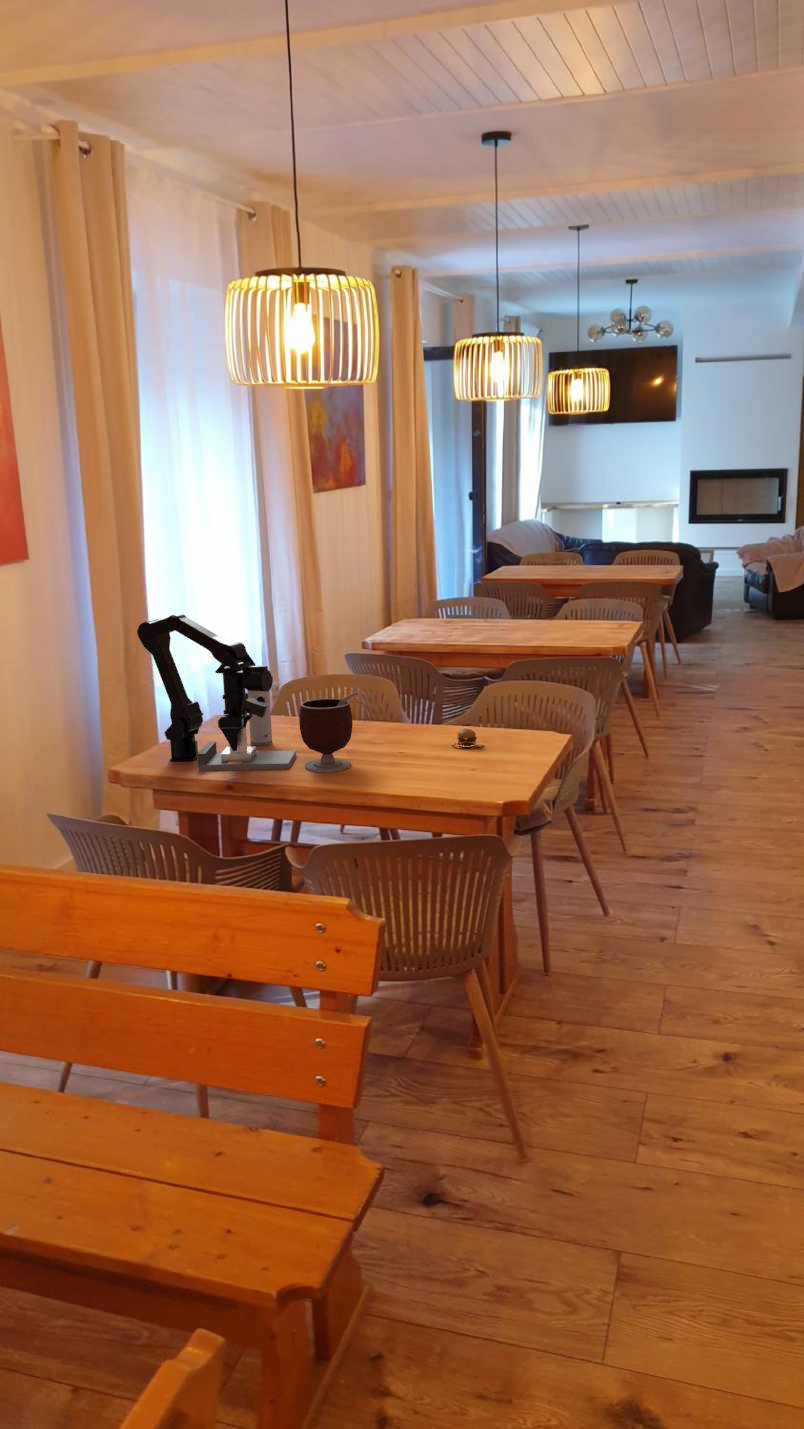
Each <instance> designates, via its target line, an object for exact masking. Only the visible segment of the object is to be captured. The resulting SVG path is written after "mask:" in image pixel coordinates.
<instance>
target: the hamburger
mask: <svg viewBox="0 0 804 1429" xmlns="http://www.w3.org/2000/svg"><path fill="white" fill-rule="evenodd" d="M476 735H477V734H476V732H475V731H474V730H472V729H470V728H464V729H461V730H459V732H458V733H457V742H458V744H457V745H462V746H463V745H464V746H471V745H475V744H476V741H477V739H478V737H477V736H476ZM475 746H476V745H475Z"/></svg>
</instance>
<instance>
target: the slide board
mask: <svg viewBox="0 0 804 1429" xmlns="http://www.w3.org/2000/svg"><path fill="white" fill-rule="evenodd" d="M217 750H218V748H217V741H212V740H211V741H207V743H206V744H205V745H204V746H203V747H202V749H200V750H199V751H198V756H197V765H198V768H197V769H198V771H231V770H232V771H239V770H240V771H245V770H250V771H251V770H252V771H253V770H289V769H290V768H291V766H292V764H293V762H294V760H295V759H296V756H297V750H256V755H255V756H254V757H253V759H252V760H251V761H221V753H222V752H223V751H217Z"/></svg>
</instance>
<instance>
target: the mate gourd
mask: <svg viewBox="0 0 804 1429" xmlns="http://www.w3.org/2000/svg"><path fill="white" fill-rule="evenodd" d="M355 696H358V693H357V692H356V691H355V692H352V693H350V694H348V695H346V696H345V697H343V698H334V697H333V698H332V697H331V698H326V697H325V698H315V699H309V700H306V701H302V702H300V709H299V716H298V718H299V719H298V720H299V730H300V735H301V736H300V737H301V739H302V742H303V743H304V744H305V745H306V747H308V749H309V750H312V751H314V752H318V753H320V754H321V758H318V759H313V760H309V761H307V762H305V764H304V769H305V770H307V771H309V772H314V773H335V772H336V771H337V772H341V770H342V771H344V769H345V770H348V769H350V768H351V767H350V766H352V762H351V761H350V760H348V759H344V758H336V757H334V755H333V753H336V752H338V751H340V750H342V749H344V748H346V746H347V745H348V743H349V742H350V740H351V737H352V733H353V713H352V709H351V704H350V701H349V700H350V699H351V698H352V697H355ZM349 767H350V768H349ZM347 768H348V769H347Z"/></svg>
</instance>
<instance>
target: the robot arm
mask: <svg viewBox="0 0 804 1429" xmlns="http://www.w3.org/2000/svg"><path fill="white" fill-rule="evenodd" d="M172 632H177V633H179V634H180V635H181V636H184V637H185V638H188V639H189V640H191V641H192V642H194V643H196V644H198V645H199V646H201V647H202V648H205V649H206V650H208V652H210V654H211V655H212V657H213V659H215V660H216V661H217V662H218V663H219V664H220V665H219V667H218V668H217V669H216V670H215V671H214V672H215V674H222V682H223V683H222V684H223V694H222V696H221V697H222V700H224V709H223V715H221V717H220V718H219V719H218V720H217V727H218V728H219V729H220V731H221V732H222V734H223V735H224V737H225V739H226V741H227V743H228V744H229V745H230V747H231V748H232V750H233V751H237V747H238V737H239V731H240V730H241V729H242V728H243V727H246V728H247V723H249V719H250V718H251V717H252V716H253V715H252V714H254V715H257V716H258V717H264V715H265V713H266V710H267V707H268V703H267V702H266V701H265V697H263V696H259V697H258V698H257V699H255V698H253V699H252V698H249V697H248V693H247V690H248V691H266V692H268V691H269V692H270V691H271V689H272V686H273V682H274V681H273V676H272V673H271V671H270V670H269V669H268V668H269V666H268V665H265V664H264V665H256V662H255V661H254V660H253V658H251V657H252V656H250V655H249V653H248V652H247V649H246V645H245V644H244V643H243V642H240V641H238V640H235V639H232V638H227V637H223V636H221V635H217V634H216V633H214V632H213V631H212V630H209V629H207V628H206V627H204V626H202V625H201V624H199V623H197V622H195V621H194V620H192V619H190V618H189V617H187V615H186V614H183V613H176V614H171V615H169V616H167V617H166V618H162V619H159V618H156V619H151V620H148V621H144V622H141V623H140V624H139V625H138V628H137V630H136V633H137V638H138V639H139V641H140V643H141V644H142V646H143V648H144V649H145V650H146V651H148V653H150V654H151V655H152V658H153V660H154V663H155V666H156V669H157V671H158V673H159V676H160V679H161V681H162V683H163V686H164V689H165V691H166V695H167V697H168V699H169V702H170V714H169V716H170V717H169V718H170V721H171V724H170V726H168V728H167V729H166V730H165V731H164V736H165V738H166V740H167V741H168V740H169V741H170V744H169V745H170V752H171V753H170V754H171V755H170V756H171V758H170V759H169V761H170V762H187V761H188V762H191V761H194V760H195V759H197V758H198V753H199V748H198V747H199V746H198V740H196V735H198V734H199V731H200V728H201V727H202V725H203V721H204V718H203V716H204V715H205V714H204V713H203V711H202V710H201V707H200V706H201V705H200V703H199V702H198V701H194V702H193V701H192V700H191V699H190V698H189V697H188V694H187V692H186V689H185V685H184V684H183V681H182V678H181V676H180V672H179V670H178V667H177V665H176V662H175V660H174V657H173V655H172V652H171V648H170V646H171V633H172ZM249 713H250V715H249Z"/></svg>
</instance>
